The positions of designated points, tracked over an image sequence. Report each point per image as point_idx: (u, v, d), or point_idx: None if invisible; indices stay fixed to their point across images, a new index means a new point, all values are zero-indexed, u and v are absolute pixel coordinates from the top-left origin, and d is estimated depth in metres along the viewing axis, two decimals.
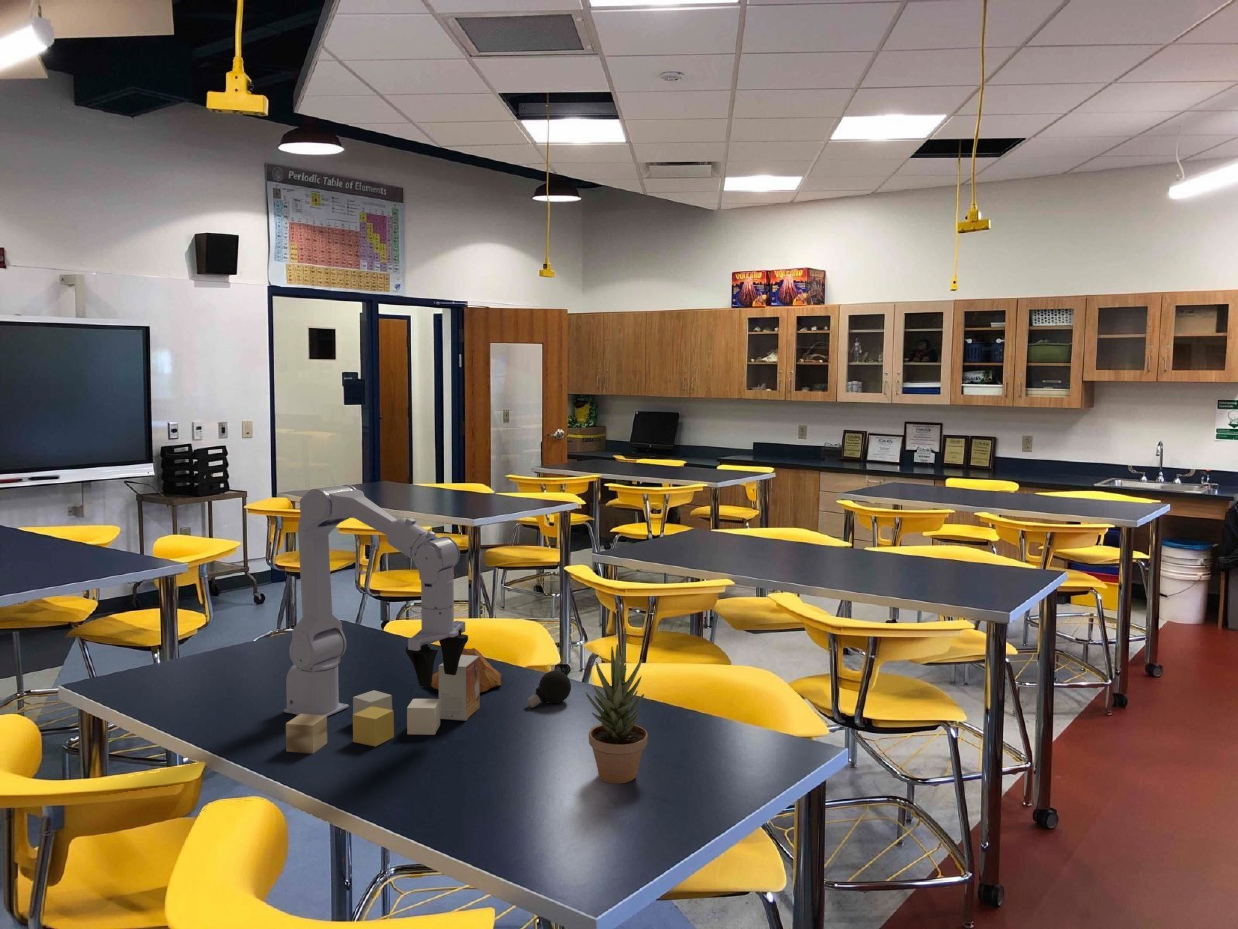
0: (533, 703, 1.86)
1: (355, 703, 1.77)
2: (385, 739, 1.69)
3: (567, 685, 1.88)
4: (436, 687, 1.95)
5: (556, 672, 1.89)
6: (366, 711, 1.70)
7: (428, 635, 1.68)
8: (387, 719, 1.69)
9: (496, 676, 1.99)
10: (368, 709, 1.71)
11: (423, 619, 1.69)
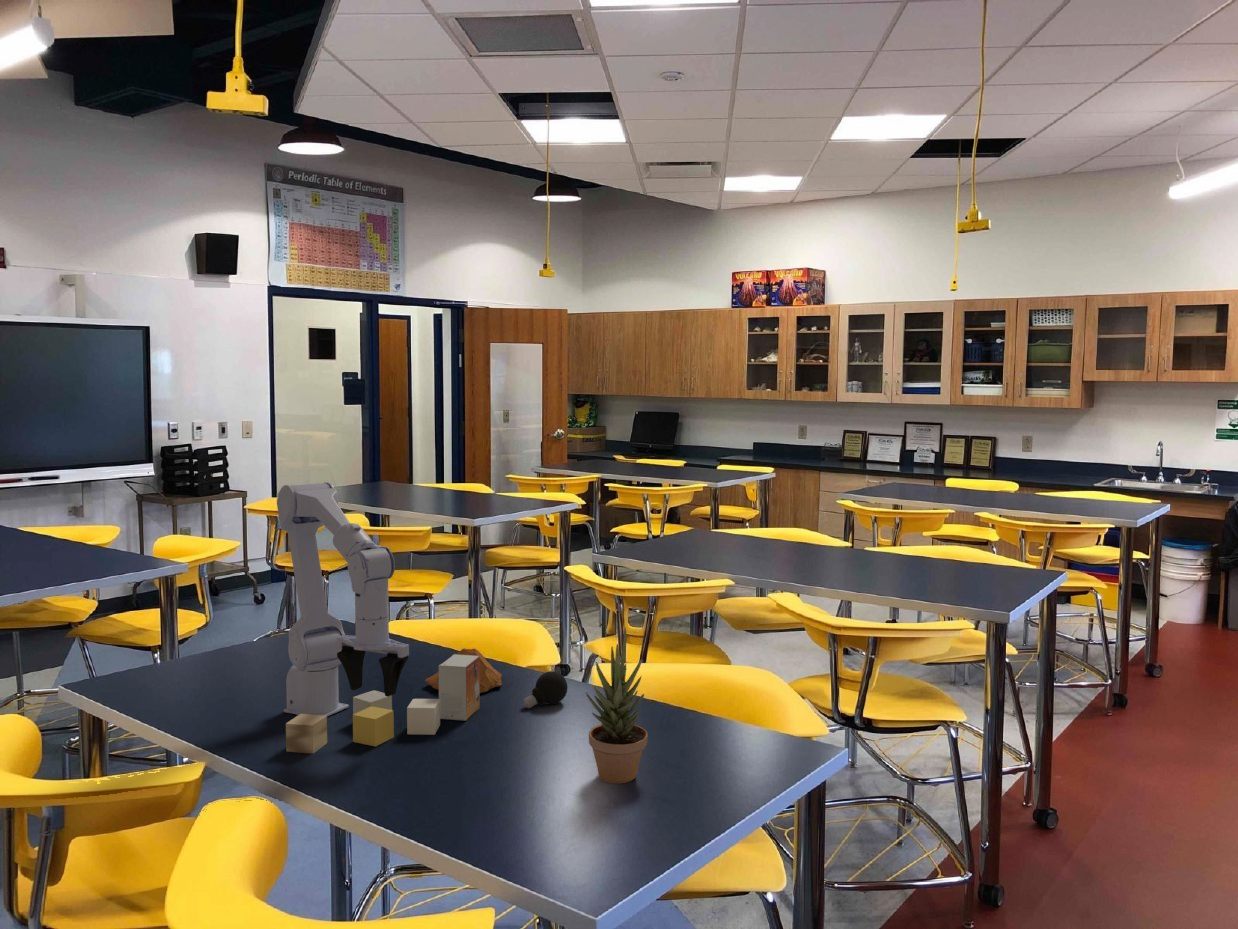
0: (529, 704, 1.86)
1: (355, 703, 1.77)
2: (385, 739, 1.69)
3: (563, 686, 1.88)
4: (436, 687, 1.95)
5: (553, 673, 1.89)
6: (366, 711, 1.70)
7: None
8: (387, 719, 1.69)
9: (496, 676, 1.99)
10: (368, 709, 1.71)
11: None
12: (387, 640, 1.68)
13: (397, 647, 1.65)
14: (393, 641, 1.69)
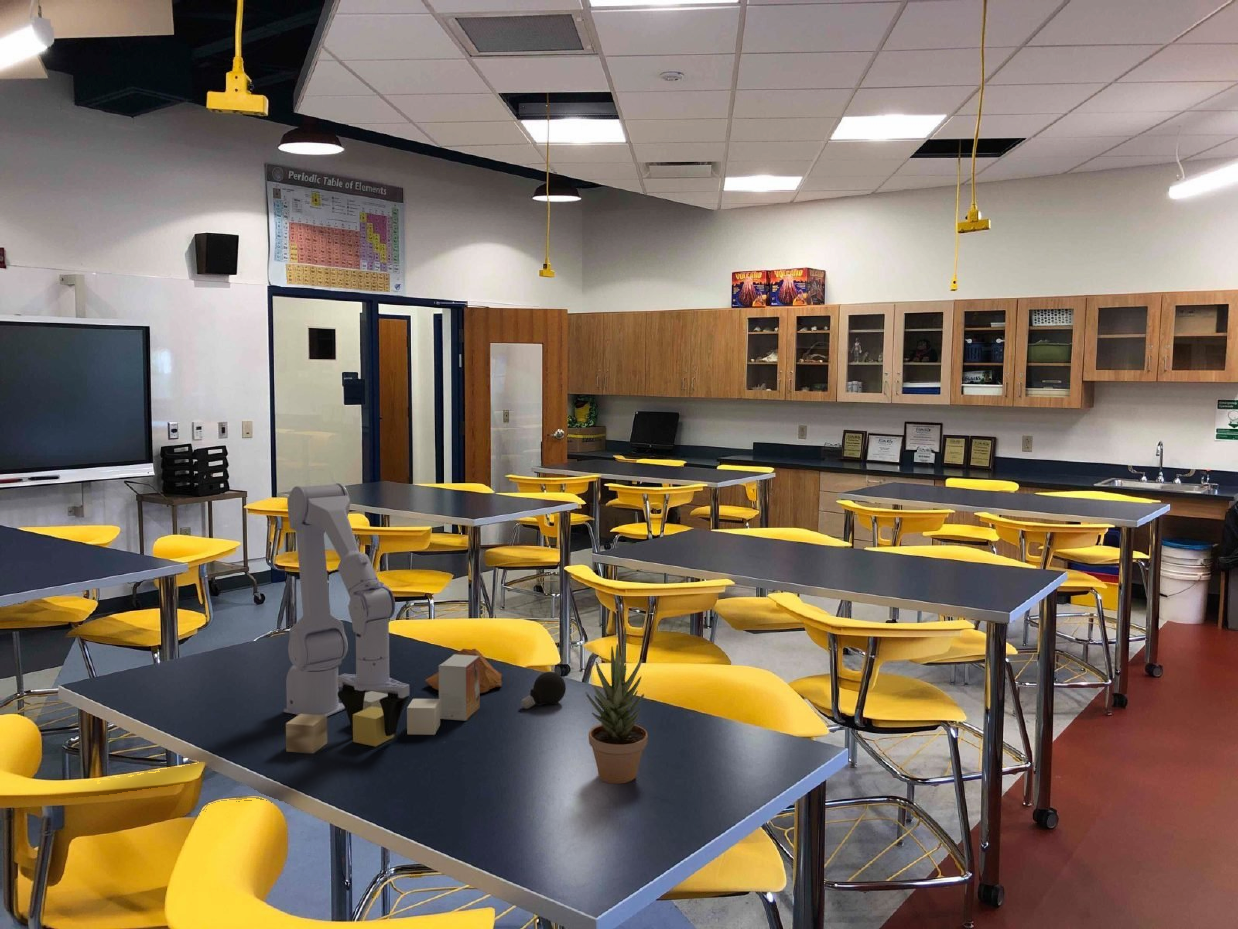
0: (528, 704, 1.86)
1: None
2: (385, 739, 1.69)
3: (562, 687, 1.88)
4: (436, 688, 1.95)
5: (551, 673, 1.89)
6: (366, 711, 1.70)
7: None
8: None
9: (497, 677, 1.99)
10: (368, 709, 1.71)
11: None
12: (387, 680, 1.68)
13: (397, 687, 1.65)
14: (393, 680, 1.69)
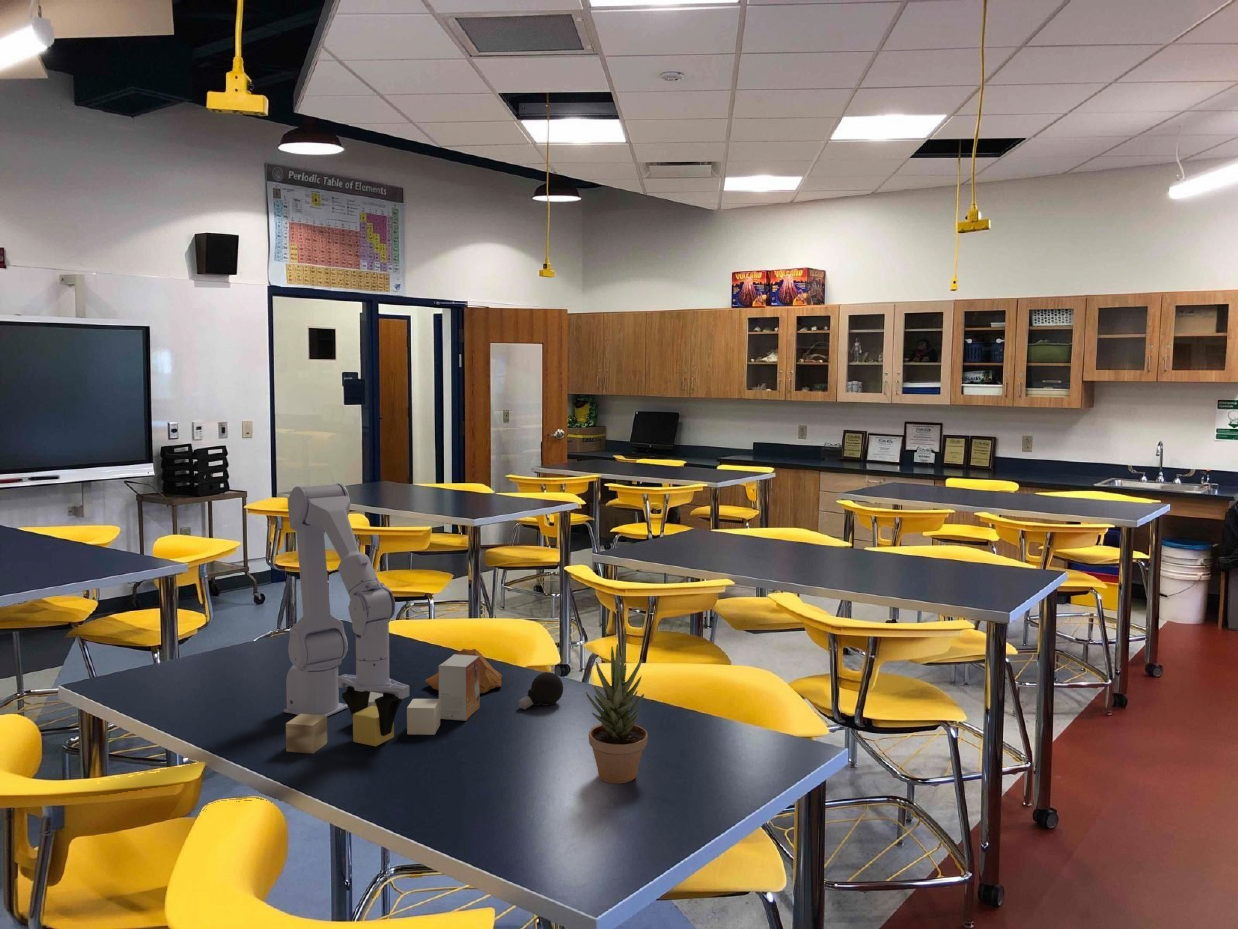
0: (525, 705, 1.85)
1: None
2: (385, 738, 1.69)
3: (559, 687, 1.87)
4: (436, 688, 1.95)
5: (549, 674, 1.88)
6: (366, 710, 1.70)
7: None
8: None
9: (497, 677, 1.99)
10: (368, 708, 1.71)
11: None
12: (387, 680, 1.68)
13: (397, 688, 1.65)
14: (393, 681, 1.69)
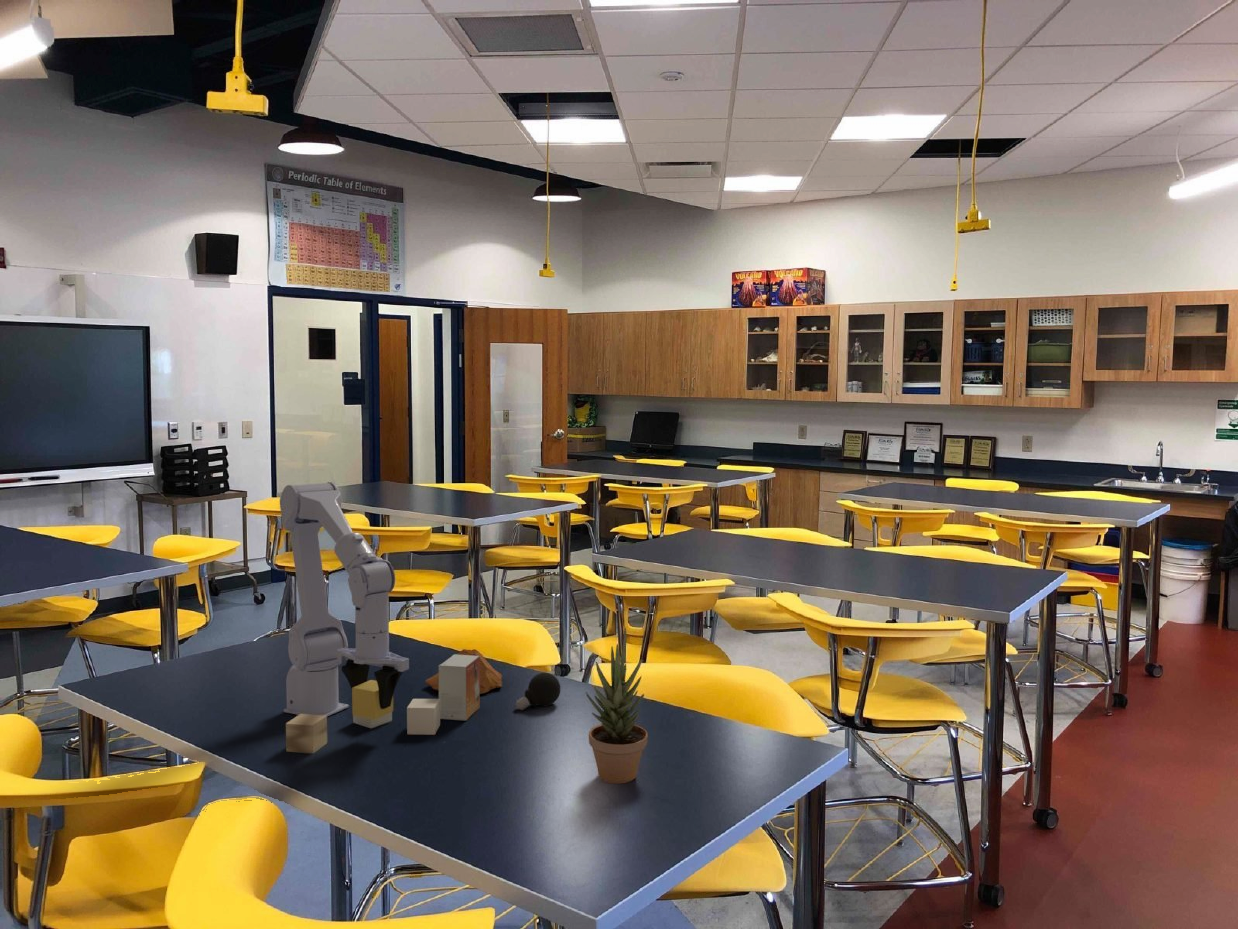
0: (522, 705, 1.85)
1: None
2: (384, 712, 1.69)
3: (556, 688, 1.87)
4: (437, 688, 1.95)
5: (546, 674, 1.88)
6: (365, 684, 1.70)
7: None
8: None
9: (497, 677, 1.98)
10: (368, 682, 1.71)
11: None
12: (387, 653, 1.68)
13: (397, 661, 1.65)
14: (393, 654, 1.69)
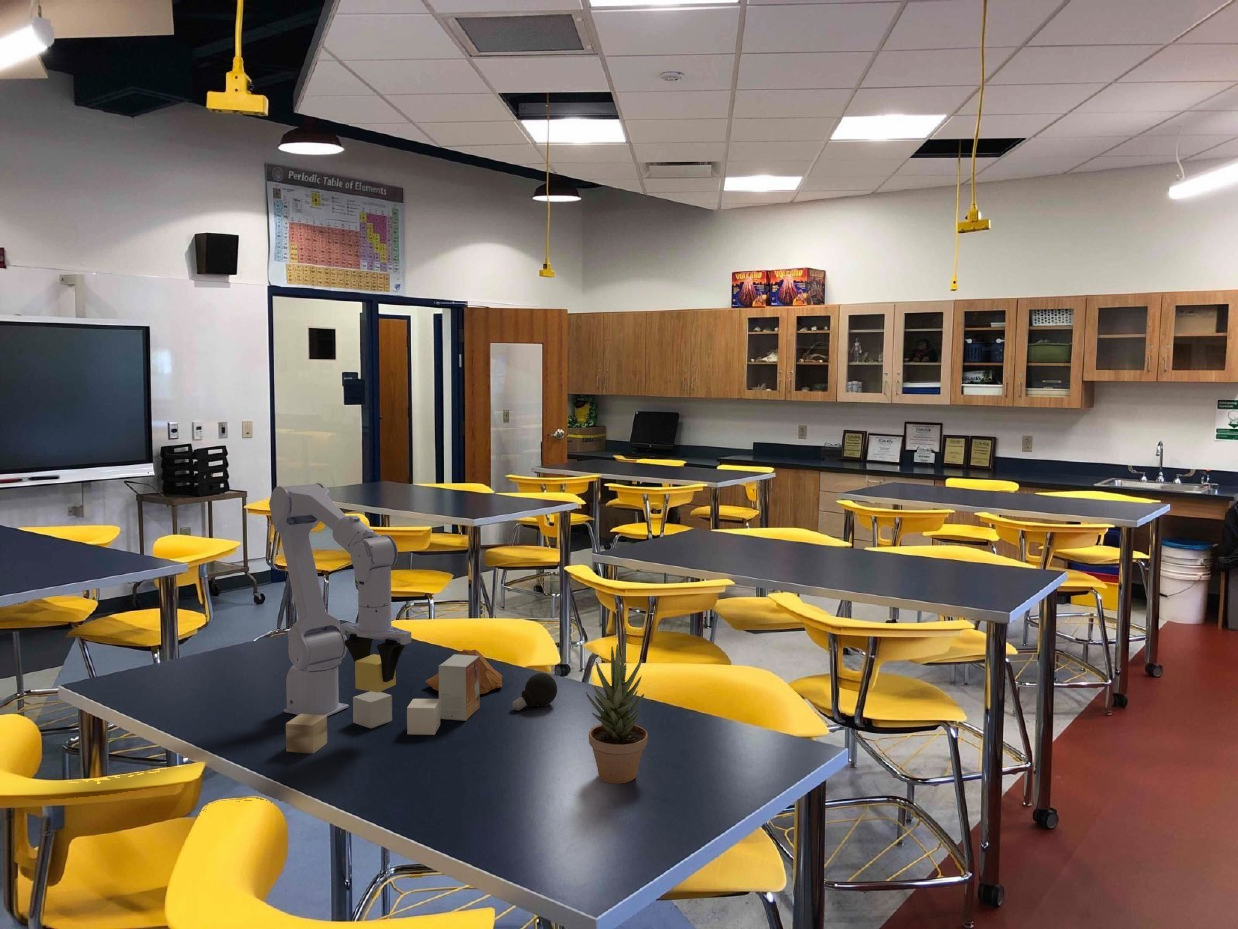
0: (519, 706, 1.85)
1: (355, 703, 1.77)
2: (387, 685, 1.70)
3: (553, 688, 1.87)
4: (437, 689, 1.94)
5: (542, 675, 1.88)
6: (368, 658, 1.71)
7: None
8: None
9: (497, 678, 1.98)
10: (370, 656, 1.72)
11: None
12: (390, 627, 1.70)
13: (399, 634, 1.67)
14: (395, 628, 1.71)
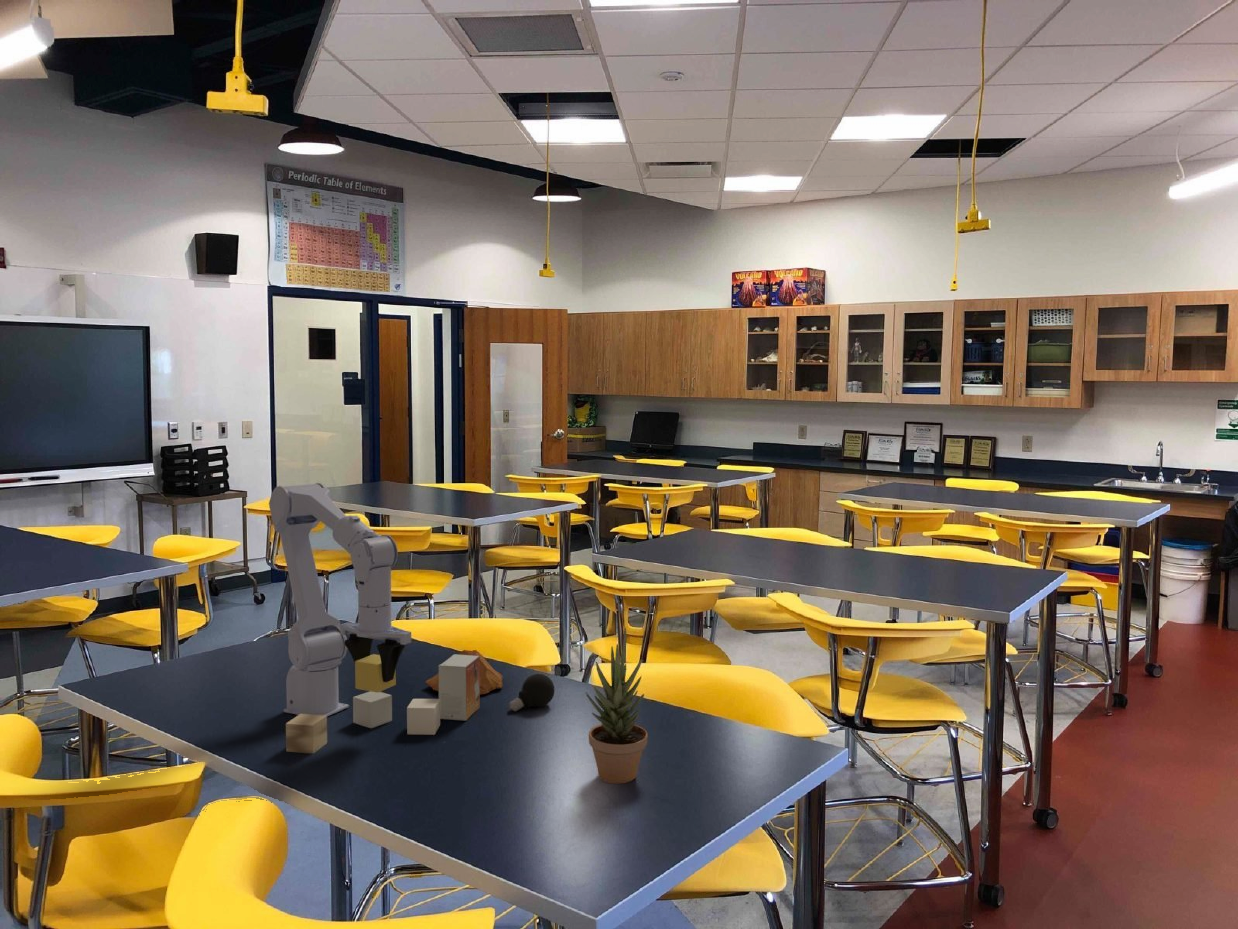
0: (516, 707, 1.84)
1: (355, 703, 1.77)
2: (387, 685, 1.70)
3: (550, 689, 1.86)
4: (437, 689, 1.94)
5: (540, 675, 1.87)
6: (368, 658, 1.71)
7: None
8: None
9: (497, 678, 1.98)
10: (370, 656, 1.72)
11: None
12: (390, 627, 1.70)
13: (399, 634, 1.67)
14: (395, 628, 1.71)
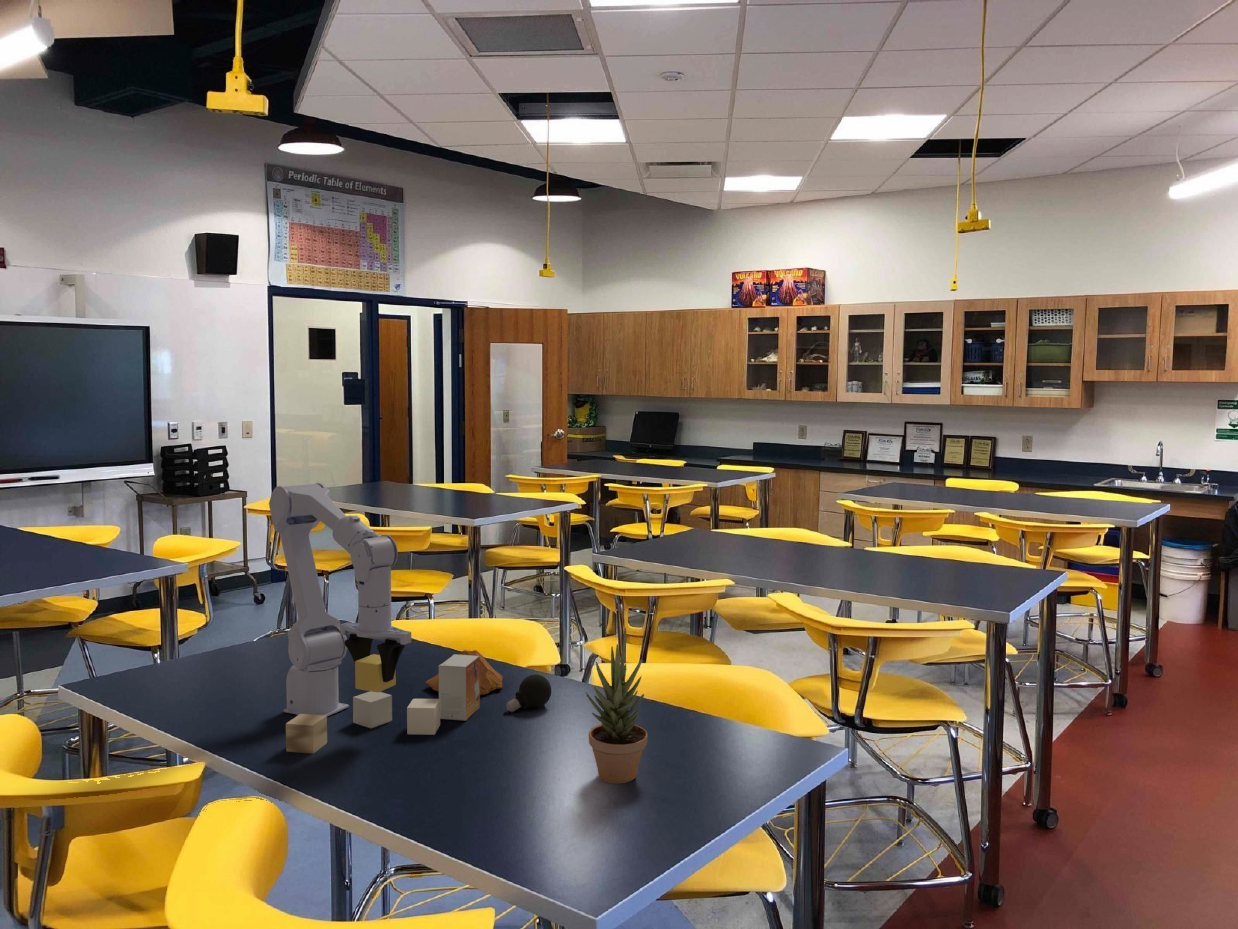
0: (513, 707, 1.84)
1: (355, 703, 1.77)
2: (387, 685, 1.70)
3: (547, 689, 1.86)
4: (437, 689, 1.94)
5: (536, 676, 1.87)
6: (368, 658, 1.71)
7: None
8: None
9: (497, 678, 1.98)
10: (370, 656, 1.72)
11: None
12: (390, 627, 1.70)
13: (399, 634, 1.67)
14: (395, 628, 1.71)
